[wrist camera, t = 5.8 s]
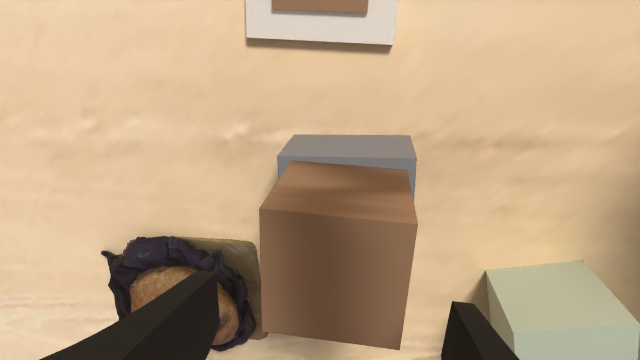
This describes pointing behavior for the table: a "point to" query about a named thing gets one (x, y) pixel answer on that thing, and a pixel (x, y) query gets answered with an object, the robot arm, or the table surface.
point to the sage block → (560, 314)
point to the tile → (323, 20)
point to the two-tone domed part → (183, 260)
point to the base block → (352, 152)
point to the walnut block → (337, 253)
